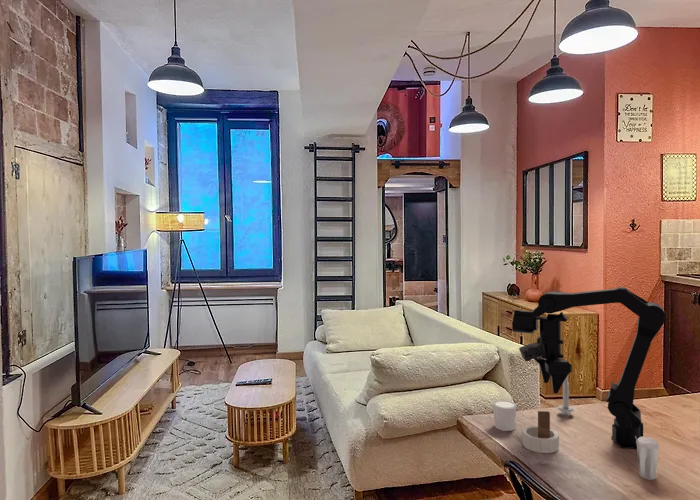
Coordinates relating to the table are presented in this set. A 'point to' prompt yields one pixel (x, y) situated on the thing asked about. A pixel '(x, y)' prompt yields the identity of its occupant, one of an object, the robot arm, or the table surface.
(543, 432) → the brown wooden handle
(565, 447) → the table surface
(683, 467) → the table surface
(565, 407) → the screw
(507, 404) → the white tapered cylinder
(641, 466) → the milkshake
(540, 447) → the white bowl
